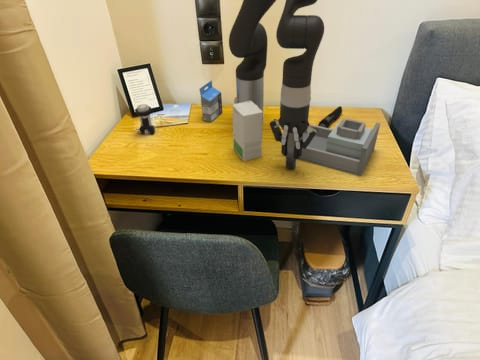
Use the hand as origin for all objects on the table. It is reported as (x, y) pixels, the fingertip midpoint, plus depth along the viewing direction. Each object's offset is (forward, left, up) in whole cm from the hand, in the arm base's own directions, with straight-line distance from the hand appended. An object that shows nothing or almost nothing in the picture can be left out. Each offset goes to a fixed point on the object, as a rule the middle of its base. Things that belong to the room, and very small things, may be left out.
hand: (291, 156), depth 98 cm
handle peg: (0, 0, -4) cm, 4 cm away
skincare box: (-15, +1, -4) cm, 15 cm away
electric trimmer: (+1, +33, -4) cm, 34 cm away
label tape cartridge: (-39, +17, -4) cm, 43 cm away
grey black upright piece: (-53, -4, -4) cm, 53 cm away
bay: (+7, +13, -4) cm, 15 cm away
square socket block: (+13, +13, -3) cm, 18 cm away
